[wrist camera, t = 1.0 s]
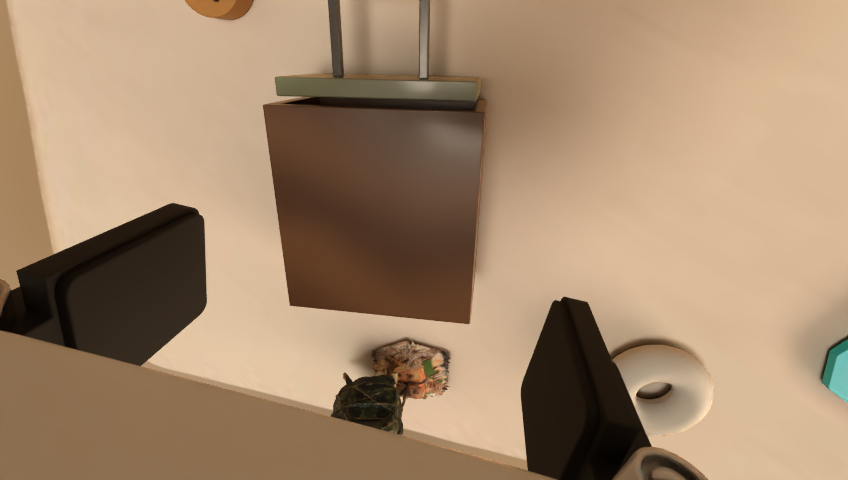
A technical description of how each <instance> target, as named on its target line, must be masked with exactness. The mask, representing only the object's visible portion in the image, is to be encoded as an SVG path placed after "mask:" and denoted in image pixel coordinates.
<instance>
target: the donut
mask: <svg viewBox="0 0 848 480" xmlns="http://www.w3.org/2000/svg"><path fill="white" fill-rule="evenodd" d="M612 361H613V362H615V363H616V365H617V367H618V369H619V371H620V373H621V376H622V378H623V380H624V383H625V385H626V387H627V390H628V392H629V395H630V397H631V399H632V402H633V404H634V406H635V409H636V411H637V413H638V416H639V418H640V420H641V423H642V425H643V428H644V430H645V432H646V435H647V436H666V435H671V434H676V433H680V432H682V431H684V430H686V429H689V428H691V427H693V426H694V425H695V424H696V423H698V422H699V421H700V420H701V419H703V418H704V417H705V415H706V414H707V412H708V411H709V409H710V407H711V406H712V401H713V395H714V387H713V383H712V380H711V376H710V374H709V372H708V371H707V369H706V368H705V367H704V366H703V365H702V364H701V362H700V361H699V360H698V359H697V358H695V357H694V356H692V355H690V354H688V353H687V352H685V351H683V350H681V349H678V348H674V347H670V346H666V345H643V346H639V347H635V348H631V349H629V350H627V351H625V352H623V353H621V354H619V355H617V356H616V357H615V358H614V359H613V360H612ZM654 382H665V383H669V384H671V385H672V388H671V389H670V391H669V392H668V393H667V394H666V395H664V396H662V397H660V398H656V399H642V398H639V397H637V396H636V393H637V391H638V390H639V389H640V388H642V387H643V386H645V385H647V384H649V383H654Z"/></svg>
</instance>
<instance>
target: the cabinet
mask: <svg viewBox="0 0 848 480" xmlns="http://www.w3.org/2000/svg"><path fill="white" fill-rule="evenodd" d="M263 109H264V117H265V124H266V131H267V139H268V146H269V154H270V161H271V168H272V176H273V183H274V191H275V198H276V205H277V213H278V220H279V228H280V235H281V242H282V250H283V257H284V265H285V272H286V280H287V287H288V294H289V302H290V306H299V307H309V308H319V309H328V310H338V311H348V312H357V313H367V314H377V315H386V316H396V317H406V318H415V319H425V320H435V321H444V322H454V323H464V324H470V320H471V310H472V299H473V289H474V278H475V267H476V253H477V239H478V225H479V211H480V198H481V184H482V170H483V156H484V142H485V128H486V114H487V100H476V101H475V102H470V101H436V100H403V99H369V98H335V97H300V98H295V99H290V100H285V101H280V102H275V103H269V104H265V105H263Z"/></svg>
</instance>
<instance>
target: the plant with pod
mask: <svg viewBox="0 0 848 480" xmlns="http://www.w3.org/2000/svg"><path fill="white" fill-rule="evenodd" d="M372 351H373V350H372ZM372 356H373V359H374V360H373V361H374V363H373V365H374V366H375V368H376V369H375V368H373V369H374V370H375V373H376V374H374V375H376V376H373V377H367V376H366V377H361V378H358V379H357V380H355V381H354V382H352V380H351V379H350V377H349V376H348V375H347V374H346V373H344V374H343V379H344V380H345V381H346V384H347V385H345V386H344V387H342V388H341V390H340V391H339V393H338V395H336V400H335V402H334V405H333V413H332V414H331V417H334V418H338V419H342V420H346V421H349V422H353V423H357V424H361V425H365V426H368V427H372V428H376V429H379V430H383V431H387V432H391V433H394V434H398V435H402V434H403V423H402V420H401V417H402V411H403V406H404V403H405V399H407V398H414V399H421V398H423V399H426V398H427V397H428V396H431V397H433V395H435V396H437V395H442V393H443V392H445V391H443V390H448V389H447V388H446V387H450V386H446V385H443V384H444V383H445V382H447V381H448V380H444V379H445V378H447V375H446V373H449V371H448V370H447V369H448V367H446V366H448V365H447V364H446V363H450V362H449V361H448V360H449V359H451V358H450V357H449V356H448V355H447V354H446V353H444V351H439V350H436V349H433V348H430V347H425V346H422V345H418V344H417V345H415V344H414V342H413V341H412V344H411V346H410V344H409V341H402V343H401V342H399V343H396V344H394V345H392V346H388V347H385V346H384V347H382V349H380V350H379V349H377V350H376V351H373V352H372ZM401 396H402V397H403V402H402V404H401V400H400V397H401Z"/></svg>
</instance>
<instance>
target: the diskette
mask: <svg viewBox="0 0 848 480" xmlns="http://www.w3.org/2000/svg"><path fill="white" fill-rule="evenodd" d="M822 383H823V384H824V385H825V386H826V387H827V388H828V389H829V390H831V391H832V392H833V393H835V394H836V395H837V396H839V397H840V398H842V399H843V400H844V401H846V402H847V403H848V339H847V340H846V341H844V342H842V343H841V344H839V345H838V346H836V347H835V348H833V349H832V350H830V352H829V356H828V360H827V364H826V368H825V372H824V376H823V380H822Z"/></svg>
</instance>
